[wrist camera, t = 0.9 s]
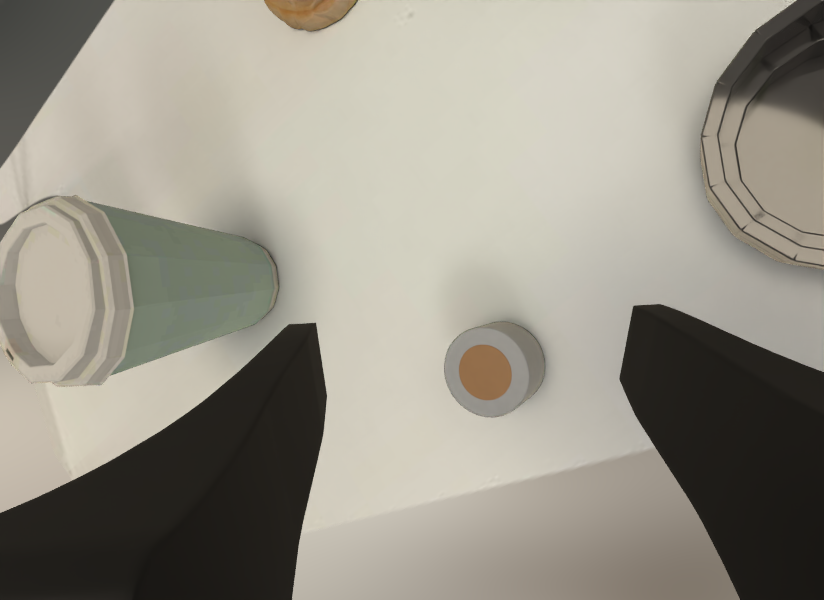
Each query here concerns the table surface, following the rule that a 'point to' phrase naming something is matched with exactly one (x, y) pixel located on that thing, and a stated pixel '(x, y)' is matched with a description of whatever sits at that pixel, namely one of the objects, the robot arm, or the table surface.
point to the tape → (494, 368)
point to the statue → (309, 12)
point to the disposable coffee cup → (120, 289)
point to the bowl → (772, 139)
